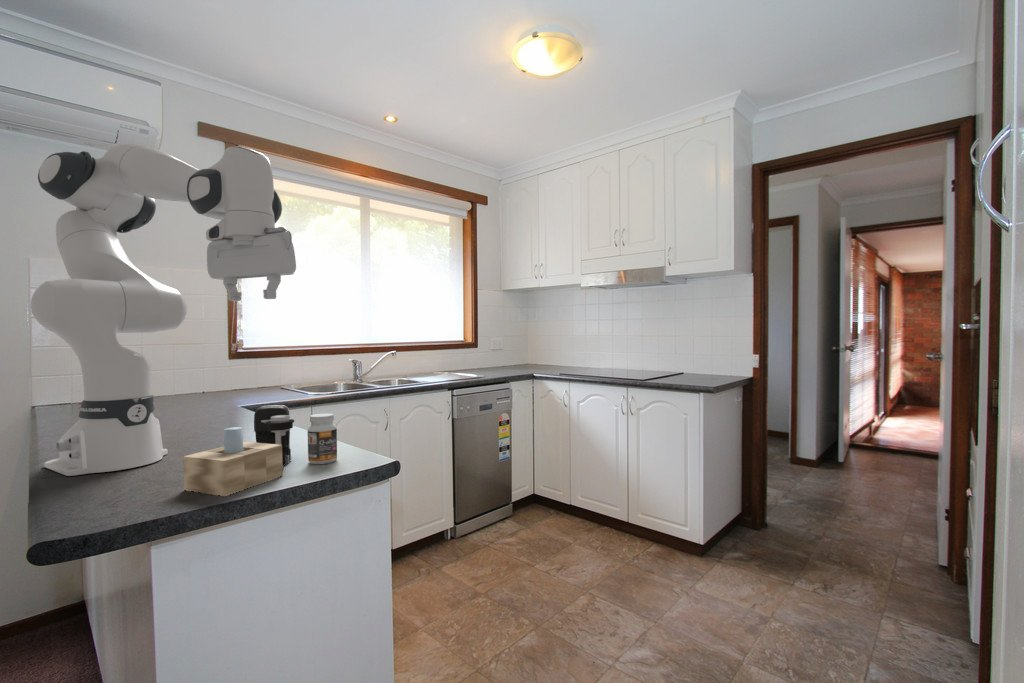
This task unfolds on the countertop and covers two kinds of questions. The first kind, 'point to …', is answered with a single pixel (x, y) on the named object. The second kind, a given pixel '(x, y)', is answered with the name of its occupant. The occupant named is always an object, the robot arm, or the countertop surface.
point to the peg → (233, 440)
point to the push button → (281, 433)
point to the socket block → (232, 468)
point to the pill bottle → (322, 439)
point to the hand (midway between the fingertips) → (252, 299)
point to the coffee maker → (261, 428)
